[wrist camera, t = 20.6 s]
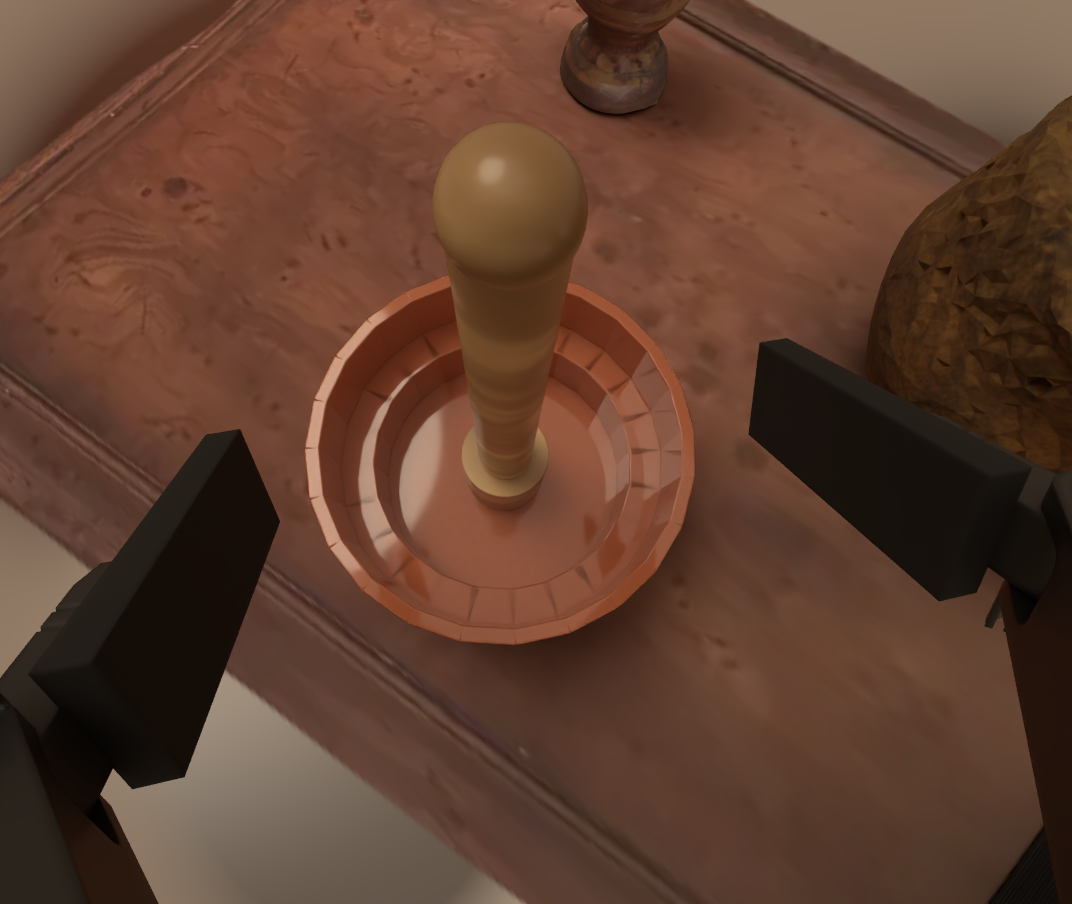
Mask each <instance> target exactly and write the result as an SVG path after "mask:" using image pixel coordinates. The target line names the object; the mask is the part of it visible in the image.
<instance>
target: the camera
mask: <svg viewBox="0 0 1072 904" xmlns="http://www.w3.org/2000/svg"><path fill="white" fill-rule="evenodd" d="M991 904H1059V899H1058V894H1057V889H1056V883H1055V878H1054V873H1053V868H1052V863H1051V858H1050V853H1049V848H1048V843H1047V838H1046V833H1045V828H1044V829H1043V831H1042V832H1041V833H1040V835H1039V836H1038V838H1037V839H1036V840H1035V842H1034V843H1033V845H1032V846H1031V847H1030V849H1029V850H1028V851H1027V853H1026V854H1025V856H1024V857H1023V858H1022V860H1021V861H1020V863H1019V864H1018V866H1017V867H1016V868H1015V870H1014V871H1013V873H1012V874H1011V875H1010V877H1009V878H1008V880H1007V881H1006V883H1005V884H1004V885H1003V887H1002V888H1001V890H1000V891H999V892H998V894H997V895H996V897H995V898H994V900H993V901H992V902H991Z"/></svg>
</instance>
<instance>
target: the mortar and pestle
mask: <svg viewBox="0 0 1072 904" xmlns="http://www.w3.org/2000/svg"><path fill="white" fill-rule="evenodd" d="M576 2H577V3H578V4H579V5H580V7H581V8H582V9H583V11H584V12H585V13H586V14H587V15H588V17H586V18H585V19H584V20H583V21H582V22H581V23H579V24H577V25H576V26H575V27H574V29H573V30H572V31H571V34H570V36H569V38H568V41H567V43H566V46H565V49H564V52H563V56H562V59H561V66H560V74H561V78H562V80H563V82H564V85H565V86H566V88H567V89H568V91H569V92H570V93H571V94H572V95H573V96H574V97H575V98H576V99H577V100H578V101H580V102H581V103H583V104H584V105H586V106H588V107H590V108H591V109H594V110H597V111H600V112H605V113H613V114H620V113H627V112H632V111H636V110H640V109H644V108H647V107H649V106H652V105H654V104H657V103H658V98H659V97H660V95H661V94H662V92H663V90H664V87H665V84H666V81H667V49H666V46H665V44H664V43H663V41H662V39H661V37H660V36H659V34H658V31H659V30H660V29H662V28H663V27H664V26H665V25H667V24H668V23H669V22H671V21H672V20H673V19H674V18H675V17H676V16H677V15H678V14H679V13H681V11H682V10H683V9H684V8H685V6H686V5H687V4H688V2H689V0H576Z"/></svg>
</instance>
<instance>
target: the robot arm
mask: <svg viewBox="0 0 1072 904" xmlns="http://www.w3.org/2000/svg"><path fill="white" fill-rule="evenodd" d="M749 435H750V436H751V437H752V438H753V439H755V440H756V441H757V442H758V443H759V444H760V445H761V446H762V447H764V448H765V449H766V450H767V451H768V452H769V453H770V454H772V455H773V456H774V457H775V458H776V459H777V460H778V461H780V462H781V463H782V464H783V465H784V466H785V467H786V468H788V469H789V470H790V471H791V472H792V473H793V474H794V475H796V476H797V477H798V478H799V479H800V480H801V481H802V482H804V483H805V484H806V485H807V486H808V487H809V488H810V489H812V490H813V491H814V492H815V493H816V494H817V495H818V496H820V497H821V498H822V499H823V500H824V501H825V502H826V503H828V504H829V505H830V506H831V507H832V508H833V509H834V510H836V511H837V512H838V513H839V514H840V515H841V516H842V517H843V518H845V519H846V520H847V521H848V522H849V523H850V524H851V525H853V526H854V527H855V528H856V529H857V530H858V531H859V532H861V533H862V534H863V535H864V536H865V537H866V538H867V539H869V540H870V541H871V542H872V543H873V544H874V545H875V546H877V547H878V548H879V549H880V550H881V551H882V552H883V553H885V554H886V555H887V556H888V557H889V558H890V559H891V560H893V561H894V562H895V563H896V564H897V565H898V566H899V567H901V568H902V569H903V570H904V571H905V572H906V573H907V574H909V575H910V576H911V577H912V578H913V579H914V580H915V581H916V582H918V583H919V584H920V585H921V586H922V587H923V588H924V589H926V590H927V591H928V592H929V593H930V594H931V595H932V596H934V597H935V598H936V599H937V600H938V601H943V600H947V599H951V598H956V597H960V596H964V595H968V594H973V593H976V592H977V590H978V588H979V585H980V583H981V581H982V579H983V577H984V574H985V572H986V570H987V568H988V567H989V568H991V569H992V570H993V571H995V572H996V573H997V574H999V575H1000V576H1001V577H1003V578H1004V579H1005V580H1004V582H1003V584H1002V586H1001V588H1000V590H999V592H998V594H997V597H996V599H995V601H994V603H993V605H992V607H991V609H990V611H989V613H988V615H987V617H986V621H985V627H989V628H993V626H994V624H995V622H996V620H997V619H999V618H1001V617H1003V621H1004V626H1005V628H1004V629H1003V631H1004V632H1006V636H1007V641H1008V646H1009V651H1010V656H1011V661H1012V666H1013V671H1014V676H1015V681H1016V687H1017V692H1018V697H1019V702H1020V707H1021V712H1022V717H1023V722H1024V727H1025V732H1026V737H1027V742H1028V747H1029V752H1030V757H1031V762H1032V767H1033V772H1034V777H1035V782H1036V788H1037V793H1038V798H1039V803H1040V808H1041V813H1042V818H1043V823H1044V828H1045V833H1046V838H1047V843H1048V848H1049V853H1050V858H1051V863H1052V868H1053V873H1054V878H1055V883H1056V889H1057V894H1058V899H1059V904H1072V470H1070V471H1062V472H1061V473H1059V474H1055V473H1053V472H1051V471H1049V470H1047V469H1045V468H1043V467H1041V466H1039V465H1037V464H1035V463H1033V462H1031V461H1029V460H1028V459H1026V458H1024V457H1022V456H1020V455H1018V454H1016V453H1014V452H1012V451H1010V450H1008V449H1006V448H1004V447H1002V446H1000V445H998V444H996V443H995V442H993V441H987V438H985V437H983V436H981V435H979V434H977V433H975V432H973V431H970V432H969V431H968V429H967V428H965V427H964V426H962V425H960V424H958V423H956V422H954V421H952V420H950V419H948V418H946V417H943V416H940V415H937V414H934V413H930V412H927V411H925V410H923V409H921V408H919V407H917V406H915V405H913V404H911V403H909V402H908V401H906V400H904V399H902V398H900V397H898V396H896V395H894V394H892V393H890V392H888V391H887V390H885V389H883V388H881V387H879V386H877V385H875V384H873V383H871V382H869V381H867V380H866V379H864V378H862V377H860V376H858V375H856V374H854V373H852V372H850V371H848V370H846V369H844V368H843V367H841V366H839V365H837V364H835V363H833V362H831V361H829V360H827V359H825V358H823V357H822V356H820V355H818V354H816V353H814V352H812V351H810V350H808V349H806V348H804V347H802V346H801V345H799V344H797V343H795V342H793V341H791V340H789V339H787V338H785V339H779V340H773V341H767V342H761V343H760V344H759V352H758V361H757V369H756V377H755V385H754V394H753V402H752V410H751V418H750V427H749ZM279 523H280V520H279V518H278V515H277V513H276V511H275V509H274V506H273V504H272V502H271V499H270V497H269V495H268V492H267V490H266V488H265V486H264V483H263V481H262V479H261V476H260V474H259V472H258V469H257V467H256V465H255V462H254V460H253V458H252V456H251V453H250V451H249V449H248V446H247V444H246V442H245V439H244V437H243V435H242V433H241V430H240V429H238V430H232V431H226V432H220V433H214V434H207V435H205V437H204V438H203V439H202V441H201V442H200V443H199V445H198V446H197V447H196V449H195V450H194V452H193V453H192V454H191V456H190V457H189V458H188V460H187V461H186V462H185V464H184V465H183V466H182V468H181V469H180V470H179V472H178V473H177V474H176V476H175V477H174V478H173V480H172V481H171V482H170V484H169V485H168V486H167V488H166V489H165V491H164V492H163V493H162V495H161V496H160V497H159V499H158V500H157V501H156V503H155V504H154V505H153V507H152V508H151V509H150V511H149V512H148V513H147V515H146V516H145V517H144V519H143V520H142V521H141V523H140V524H139V525H138V527H137V528H136V530H135V531H134V532H133V534H132V535H131V536H130V538H129V539H128V540H127V542H126V543H125V544H124V546H123V547H122V548H121V550H120V551H119V552H118V554H117V555H116V556H115V558H114V559H113V560H112V561H110V562H105V563H101V564H100V565H98V566H97V567H96V568H95V569H93V570H92V571H91V572H89V573H88V574H87V575H86V576H84V577H83V578H82V579H81V580H79V581H78V582H77V583H76V584H75V585H73V587H72V588H71V589H70V590H69V592H68V593H67V594H66V596H65V597H64V598H63V599H62V601H61V602H60V603H59V604H58V606H57V607H56V612H53V613H51V615H50V616H49V617H48V618H47V620H46V621H45V622H44V623H43V625H42V626H41V631H40V632H36V633H35V635H34V636H33V637H32V639H31V640H30V641H29V643H28V644H27V645H26V646H25V648H24V649H23V650H22V651H21V653H20V654H19V655H18V656H17V657H16V659H15V660H14V662H13V663H12V664H11V665H10V666H9V668H8V669H7V670H6V671H5V673H4V674H3V675H2V677H1V678H0V904H158V902H157V900H156V898H155V896H154V893H153V891H152V889H151V887H150V885H149V883H148V881H147V879H146V877H145V875H144V873H143V871H142V869H141V867H140V865H139V863H138V860H137V859H136V856H135V854H134V852H133V850H132V848H131V846H130V844H129V842H128V840H127V838H126V836H125V834H124V832H123V830H122V828H121V825H120V823H119V821H118V819H117V817H116V815H115V813H114V811H113V809H112V807H111V806H110V804H108V802H107V801H106V800H105V799H104V798H103V797H102V796H101V795H100V794H101V792H102V789H103V787H104V785H105V783H106V781H107V779H108V777H109V775H110V773H111V771H112V769H114V770H115V771H116V772H117V773H118V774H119V775H120V776H121V777H122V778H123V780H124V781H125V782H126V783H127V784H128V785H129V786H130V787H131V788H132V789H135V788H139V787H144V786H148V785H153V784H157V783H161V782H165V781H170V780H174V779H178V778H183V777H185V774H186V772H187V769H188V766H189V764H190V761H191V758H192V755H193V753H194V750H195V748H196V745H197V742H198V740H199V737H200V734H201V732H202V729H203V726H204V724H205V721H206V718H207V716H208V713H209V710H210V708H211V705H212V702H213V700H214V697H215V694H216V691H217V689H218V686H219V684H220V681H221V678H222V676H223V673H224V670H225V667H226V665H227V662H228V659H229V657H230V654H231V651H232V649H233V646H234V643H235V641H236V638H237V635H238V633H239V630H240V627H241V625H242V622H243V619H244V617H245V614H246V611H247V609H248V606H249V603H250V601H251V598H252V595H253V593H254V590H255V587H256V585H257V582H258V579H259V577H260V574H261V571H262V568H263V566H264V563H265V560H266V558H267V555H268V552H269V550H270V547H271V544H272V542H273V539H274V536H275V534H276V531H277V528H278V526H279Z"/></svg>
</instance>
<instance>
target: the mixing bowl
mask: <svg viewBox="0 0 1072 904" xmlns="http://www.w3.org/2000/svg"><path fill="white" fill-rule="evenodd" d="M473 426H474V423H473V417H472V411H471V405H470V399H469V393H468V387H467V381H466V375H465V369H464V363H463V357H462V351H461V345H460V339H459V333H458V327H457V321H456V315H455V308H454V302H453V296H452V290H451V284H450V278H449V276H445V277H443V278H440V279H438V280H435V281H433V282H430V283H427V284H425V285H422V286H420V287H417V288H415V289H412V290H409V291H407V292H406V293H403V294H402V295H400V296H399V297H397V298H396V299H395V300H393V301H392V302H390V303H389V304H387V305H386V306H385V307H383V308H382V309H380V310H379V311H377V312H376V313H375V314H373V315H372V316H370V317H369V318H367V320H365V321H364V323H363V324H362V325H361V326H360V327H359V328H358V330H357V331H356V332H355V333H354V334H353V335H352V337H351V338H350V339H349V340H348V341H347V342H346V344H345V345H344V346H343V347H342V348H341V349H340V350H339V352H338V353H337V354H336V357H334V359H333V361H332V363H331V365H330V367H329V369H328V371H327V373H326V375H325V377H324V379H323V381H322V383H321V385H320V387H319V390H318V392H317V394H316V396H315V398H314V401H313V405H312V411H311V416H310V422H309V427H308V432H307V438H306V443H305V450H304V451H305V461H306V472H307V482H308V492H309V499H310V503H311V505H312V508H313V510H314V513H315V515H316V518H317V520H318V523H319V525H320V528H321V530H322V533H323V535H324V538H325V540H326V543H327V545H328V547H329V548H330V551H331V552H332V553H333V555H334V556H335V557H336V558H337V560H338V561H339V562H340V563H341V565H342V566H343V567H344V569H345V570H346V571H347V572H348V574H349V575H350V576H351V578H352V579H353V580H354V581H355V583H356V584H357V585H358V586H359V588H360V589H361V590H363V592H364V593H366V594H367V595H368V596H370V597H371V598H373V599H374V600H375V601H377V602H378V603H380V604H381V605H382V606H384V607H385V608H387V609H388V610H389V611H391V612H392V613H394V614H395V615H396V616H398V617H399V618H401V619H402V620H403V621H405V622H407V623H408V624H411V625H414V626H416V627H419V628H422V629H425V630H428V631H431V632H433V633H436V634H439V635H442V636H445V637H448V638H450V639H453V640H456V641H461V642H471V643H488V644H504V645H519V644H524V643H529V642H533V641H538V640H542V639H547V638H552V637H556V636H561V635H565V634H569V633H571V632H574V631H576V630H578V629H579V628H581V627H583V626H585V625H587V624H589V623H591V622H593V621H594V620H596V619H598V618H600V617H602V616H604V615H606V614H608V613H609V612H611V611H613V610H615V609H617V608H618V607H620V606H621V605H622V604H623V603H624V602H625V601H626V600H627V599H628V598H629V597H630V596H631V595H632V594H633V593H634V592H635V591H636V590H637V589H638V588H639V587H641V586H642V585H643V584H644V583H645V582H646V581H647V580H648V579H649V578H650V577H651V576H652V575H653V574H654V573H655V572H656V570H658V568H659V566H660V564H661V563H662V561H663V559H664V558H665V556H666V554H667V552H668V551H669V549H670V547H671V546H672V544H673V542H674V540H675V539H676V537H677V535H678V534H679V532H680V530H681V528H682V525H683V522H684V518H685V515H686V511H687V507H688V503H689V499H690V495H691V492H692V488H693V484H694V478H695V448H694V428H693V424H692V421H691V417H690V414H689V410H688V407H687V403H686V400H685V396H684V393H683V389H682V386H681V384H680V382H679V380H678V379H677V377H676V375H675V374H674V372H673V370H672V369H671V367H670V365H669V363H668V362H667V360H666V358H665V357H664V355H663V353H662V352H661V350H660V348H659V347H658V345H657V344H656V343H655V342H654V341H653V340H652V339H651V338H650V337H649V336H648V335H647V334H646V333H645V332H644V331H643V330H642V329H641V328H640V327H639V326H638V325H637V324H636V323H635V322H634V321H633V320H632V319H631V318H630V316H629V315H628V314H627V313H624V311H623V310H621V309H620V308H618V307H616V306H615V305H613V304H612V303H610V302H608V301H607V300H605V299H603V298H602V297H600V296H599V295H597V294H595V293H594V292H592V291H590V290H589V289H587V288H585V287H583V286H580V285H577V284H574V283H571V282H568V287H567V291H566V296H565V301H564V306H563V310H562V315H561V320H560V324H559V329H558V334H557V339H556V343H555V348H554V353H553V358H552V362H551V367H550V372H549V376H548V381H547V386H546V391H545V395H544V400H543V405H542V410H541V414H540V419H539V424H538V428H539V429H540V431H541V432H542V434H543V435H544V437H545V439H546V442H547V445H548V451H549V459H548V465H547V469H546V471H545V474H544V477H543V480H542V483H541V486H540V488H539V490H538V492H537V494H536V495H535V496H534V498H533V499H532V500H531V501H530V502H528V503H527V504H525V505H524V506H522V507H520V508H517V509H513V510H507V511H505V510H496V509H492V508H490V507H487V506H486V505H484V504H482V503H481V502H480V501H479V500H478V499H477V498H476V497H475V496H474V494H473V493H472V491H471V489H470V487H469V484H468V481H467V478H466V475H465V471H464V468H463V464H462V457H461V455H462V446H463V442H464V440H465V437H466V435H467V434H468V432H469V431H470V429H471V428H472V427H473Z"/></svg>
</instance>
